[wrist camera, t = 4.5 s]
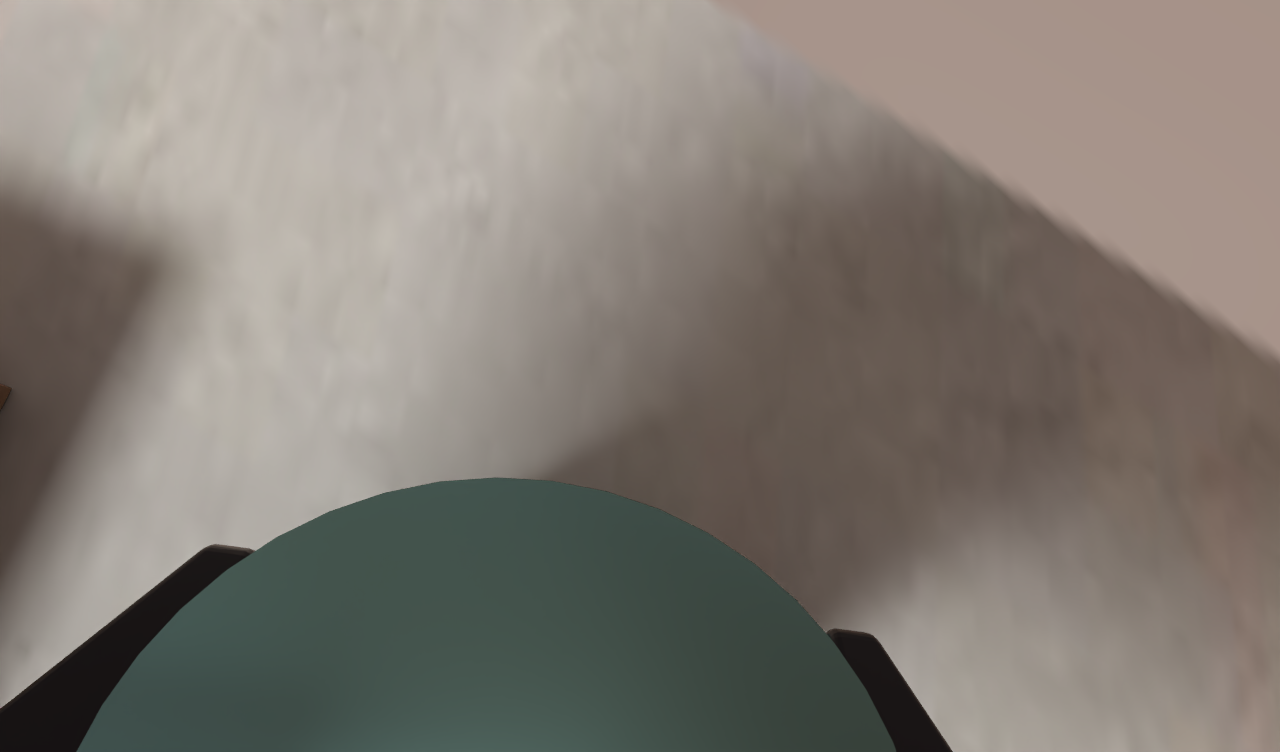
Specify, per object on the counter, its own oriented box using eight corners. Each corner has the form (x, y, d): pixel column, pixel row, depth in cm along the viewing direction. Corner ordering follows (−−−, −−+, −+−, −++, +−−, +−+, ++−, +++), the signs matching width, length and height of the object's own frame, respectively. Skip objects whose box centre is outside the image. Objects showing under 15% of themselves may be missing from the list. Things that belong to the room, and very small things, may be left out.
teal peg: (630, 901, 15) (746, 1590, 5) (314, 774, 15) (-153, 1234, 5) (752, 580, 16) (1047, 666, 6) (452, 457, 16) (266, 348, 6)
